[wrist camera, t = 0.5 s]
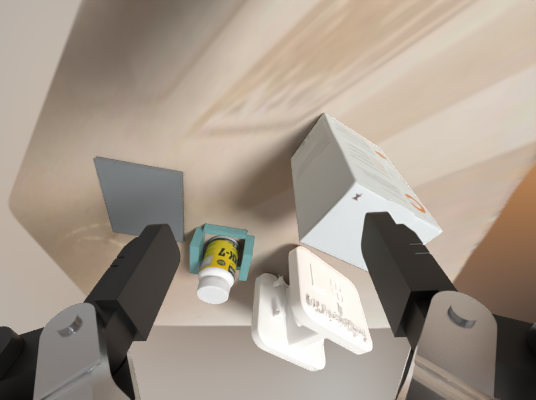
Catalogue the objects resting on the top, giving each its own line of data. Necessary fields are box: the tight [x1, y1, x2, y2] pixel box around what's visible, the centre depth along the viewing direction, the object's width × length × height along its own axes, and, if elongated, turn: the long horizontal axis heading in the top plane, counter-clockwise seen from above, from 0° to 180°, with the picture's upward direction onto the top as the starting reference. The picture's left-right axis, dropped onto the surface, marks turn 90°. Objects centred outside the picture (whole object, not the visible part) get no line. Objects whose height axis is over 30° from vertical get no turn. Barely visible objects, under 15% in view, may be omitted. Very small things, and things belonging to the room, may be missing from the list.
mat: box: [94, 157, 184, 243], centre depth 33 cm, size 12×10×1 cm
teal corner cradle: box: [190, 224, 254, 281], centre depth 36 cm, size 8×8×4 cm
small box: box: [291, 113, 442, 272], centre depth 22 cm, size 8×6×13 cm
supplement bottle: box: [197, 236, 239, 304], centre depth 34 cm, size 5×5×8 cm
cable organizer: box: [251, 246, 372, 371], centre depth 36 cm, size 15×11×12 cm
